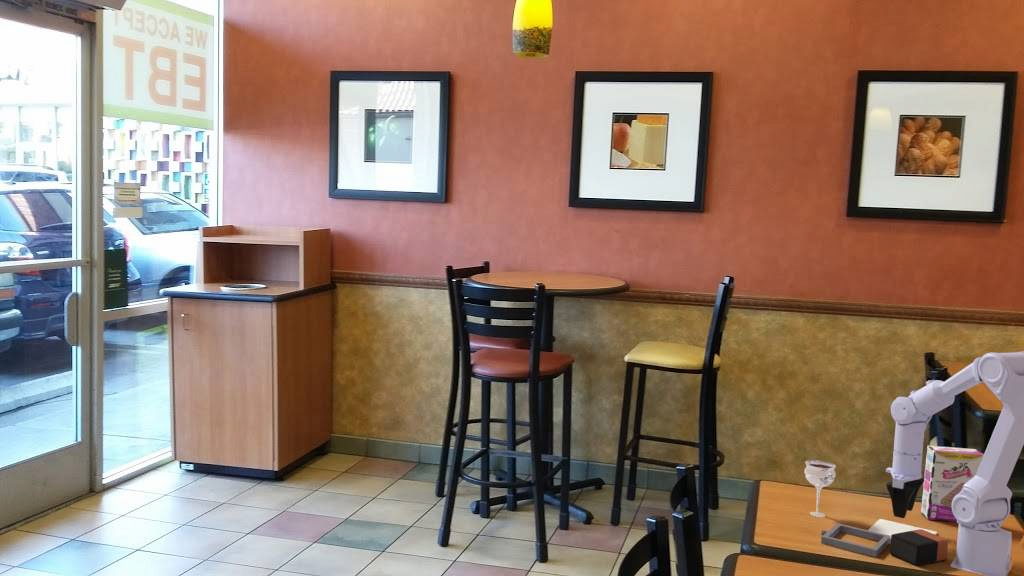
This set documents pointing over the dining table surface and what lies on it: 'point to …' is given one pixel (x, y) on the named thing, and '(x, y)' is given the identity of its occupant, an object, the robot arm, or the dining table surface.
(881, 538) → the frame
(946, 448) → the candy bar box
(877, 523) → the mat
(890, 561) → the dining table surface
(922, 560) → the battery
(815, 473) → the wineglass
